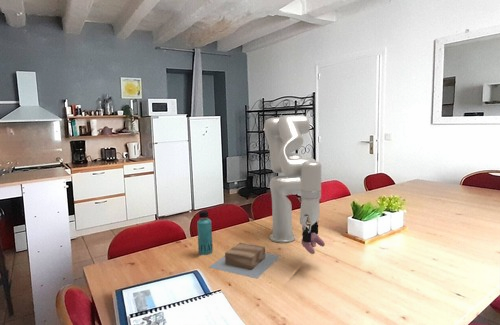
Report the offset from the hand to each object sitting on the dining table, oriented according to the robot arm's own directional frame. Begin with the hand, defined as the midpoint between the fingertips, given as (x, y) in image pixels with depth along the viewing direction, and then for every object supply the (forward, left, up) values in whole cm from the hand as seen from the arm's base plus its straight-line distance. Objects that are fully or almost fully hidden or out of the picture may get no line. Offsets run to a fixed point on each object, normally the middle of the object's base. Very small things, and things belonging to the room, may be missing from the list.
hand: (310, 237), depth 125 cm
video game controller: (0, +1, -5) cm, 5 cm away
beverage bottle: (+6, -46, -13) cm, 49 cm away
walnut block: (+7, -25, -12) cm, 29 cm away
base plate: (+7, -25, -13) cm, 29 cm away
